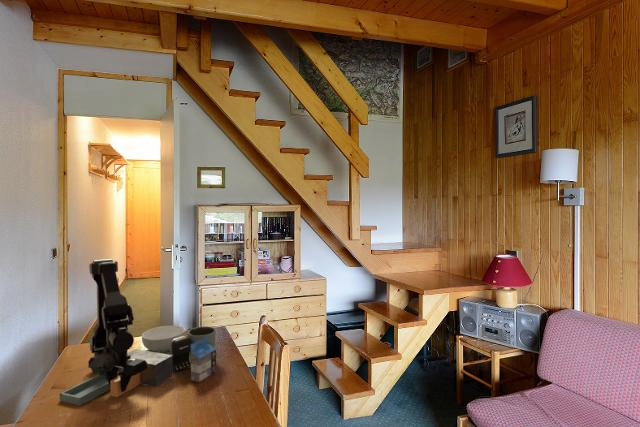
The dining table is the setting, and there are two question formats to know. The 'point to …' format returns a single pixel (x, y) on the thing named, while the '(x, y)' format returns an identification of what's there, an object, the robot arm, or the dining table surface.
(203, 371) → the label tape cartridge
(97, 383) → the tray
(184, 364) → the battery charger
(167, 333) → the cereal bowl
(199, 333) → the gray cylindrical cup
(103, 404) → the dining table surface
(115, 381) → the orange-brown rectangular block
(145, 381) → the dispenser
